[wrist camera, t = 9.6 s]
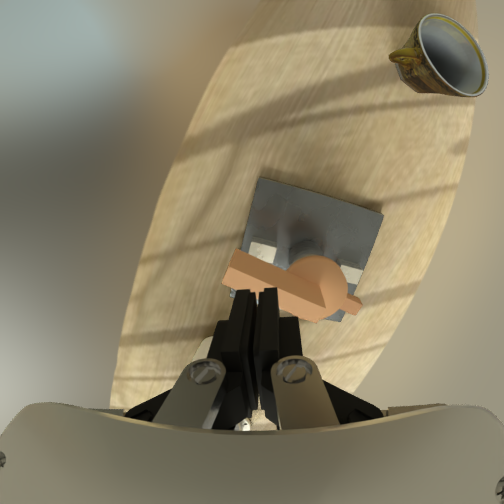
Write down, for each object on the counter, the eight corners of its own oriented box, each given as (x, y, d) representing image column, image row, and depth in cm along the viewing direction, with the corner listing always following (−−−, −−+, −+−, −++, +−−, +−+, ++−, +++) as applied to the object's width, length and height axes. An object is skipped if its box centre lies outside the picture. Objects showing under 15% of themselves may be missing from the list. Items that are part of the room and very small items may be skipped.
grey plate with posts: (339, 317, 38) (351, 354, 30) (230, 292, 37) (220, 327, 30) (380, 213, 32) (408, 231, 24) (259, 176, 32) (254, 184, 24)
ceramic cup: (430, 39, 22) (468, 18, 13) (453, 103, 25) (498, 97, 16) (352, 41, 24) (378, 8, 15) (378, 111, 27) (416, 99, 18)
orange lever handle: (371, 278, 26) (391, 308, 21) (339, 325, 28) (350, 360, 23) (248, 219, 25) (241, 238, 20) (222, 276, 27) (210, 306, 22)
